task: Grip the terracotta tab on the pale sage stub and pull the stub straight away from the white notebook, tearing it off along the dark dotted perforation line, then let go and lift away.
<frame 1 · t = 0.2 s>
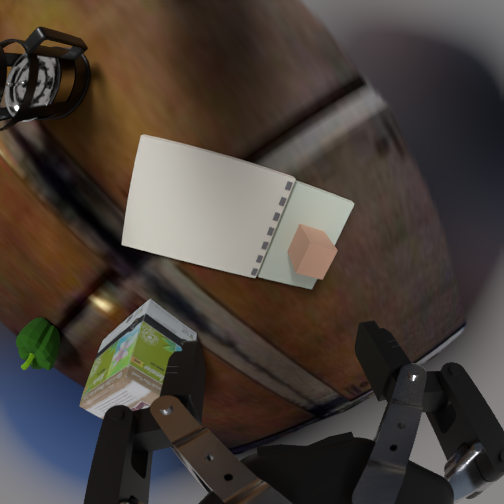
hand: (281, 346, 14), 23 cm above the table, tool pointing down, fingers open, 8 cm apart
tea box: (146, 335, 44), on the table
stub: (309, 248, 34), point 3 cm above the table, slide at 0.0 cm
white notebook: (202, 208, 34), on the table
bell pepper: (47, 326, 42), on the table
french press: (62, 80, 24), on the table
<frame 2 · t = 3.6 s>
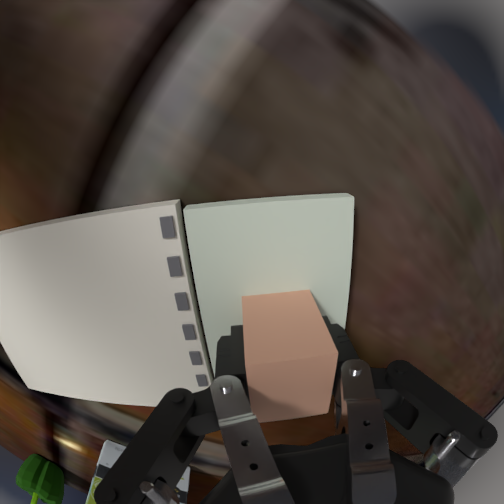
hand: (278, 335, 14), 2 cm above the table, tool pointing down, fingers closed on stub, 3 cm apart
tea box: (137, 470, 25), on the table
stub: (282, 347, 13), point 3 cm above the table, slide at 0.0 cm, touching gripper
white notebook: (73, 321, 16), on the table
bell pepper: (47, 461, 27), on the table
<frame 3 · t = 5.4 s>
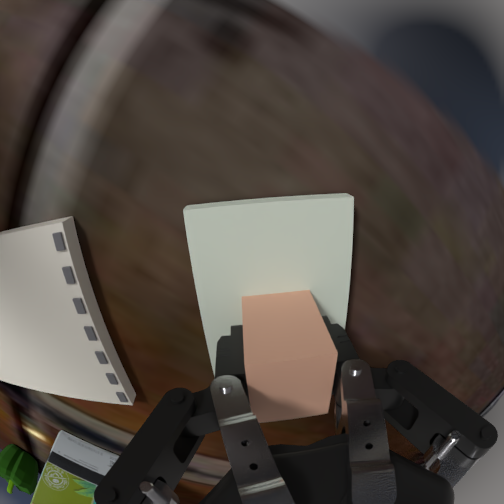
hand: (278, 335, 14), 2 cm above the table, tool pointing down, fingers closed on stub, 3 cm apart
tea box: (95, 462, 25), on the table
stub: (282, 348, 13), point 3 cm above the table, slide at 6.5 cm, touching gripper
white notebook: (16, 319, 16), on the table
bell pepper: (24, 451, 27), on the table
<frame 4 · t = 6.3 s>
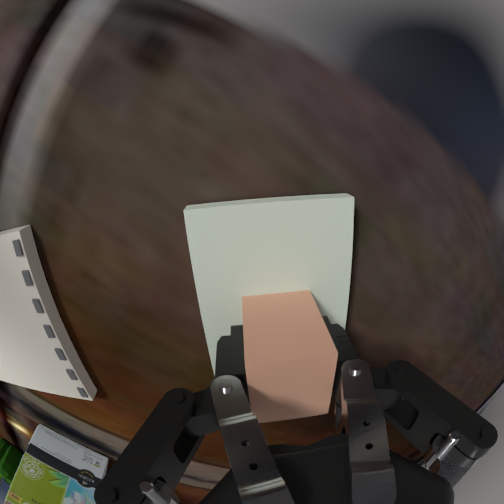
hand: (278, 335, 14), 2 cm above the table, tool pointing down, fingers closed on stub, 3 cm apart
tea box: (74, 457, 25), on the table
stub: (282, 348, 13), point 3 cm above the table, slide at 10.2 cm, touching gripper
bell pepper: (12, 446, 27), on the table
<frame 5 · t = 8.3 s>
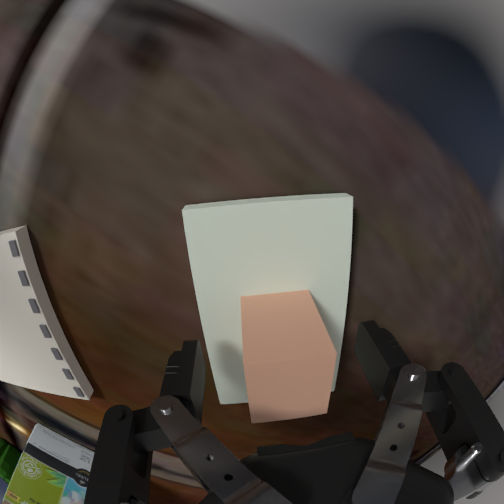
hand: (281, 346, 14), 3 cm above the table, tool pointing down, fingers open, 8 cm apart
tea box: (72, 456, 25), on the table
stub: (281, 348, 13), point 3 cm above the table, slide at 10.5 cm
bell pepper: (10, 445, 27), on the table
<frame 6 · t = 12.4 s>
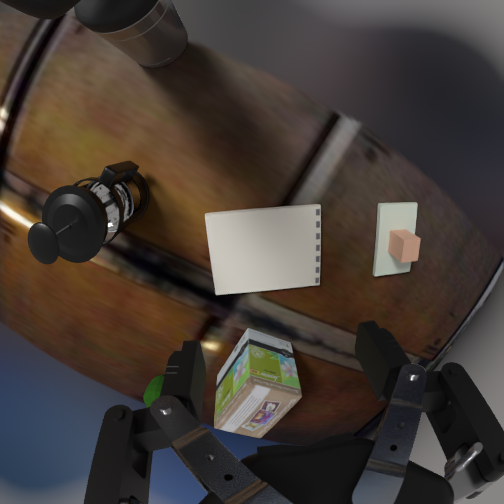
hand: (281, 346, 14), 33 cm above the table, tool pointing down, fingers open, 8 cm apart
tea box: (252, 359, 56), on the table
stub: (402, 244, 45), point 3 cm above the table, slide at 10.5 cm
white notebook: (265, 249, 47), on the table
bell pepper: (166, 381, 58), on the table
french press: (124, 192, 42), on the table
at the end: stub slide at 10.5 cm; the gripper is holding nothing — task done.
